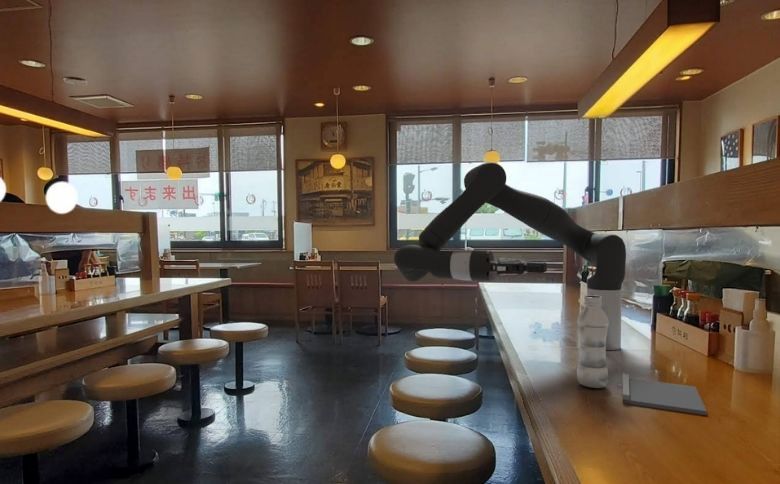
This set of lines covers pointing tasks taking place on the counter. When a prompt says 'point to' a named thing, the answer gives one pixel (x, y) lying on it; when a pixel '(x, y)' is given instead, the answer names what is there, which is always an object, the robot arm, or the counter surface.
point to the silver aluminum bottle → (592, 343)
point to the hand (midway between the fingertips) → (545, 267)
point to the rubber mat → (662, 395)
